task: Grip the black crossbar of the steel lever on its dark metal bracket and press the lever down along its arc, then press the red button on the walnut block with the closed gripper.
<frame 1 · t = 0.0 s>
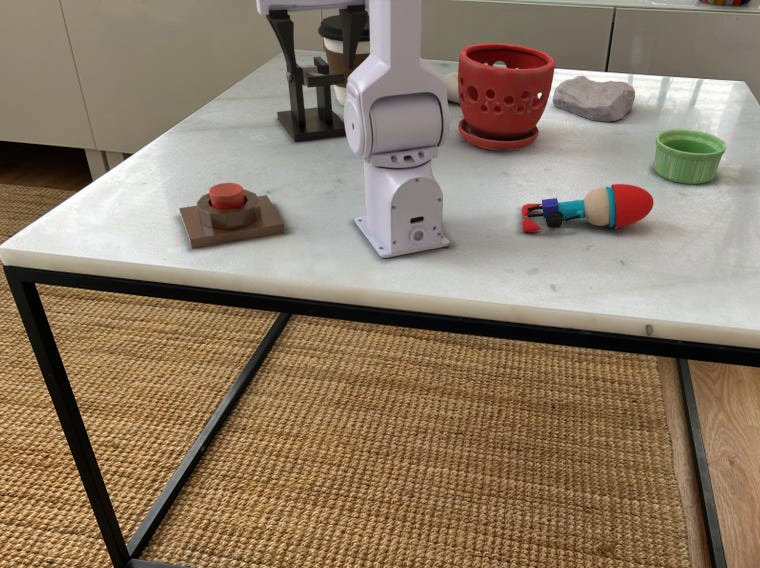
hand: (321, 69, 95), 10 cm above the table, tool pointing down, fingers open, 7 cm apart
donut: (468, 98, 119), on the table
lever: (315, 77, 98), point 8 cm above the table, hinge at 11.3°
coffee cup: (357, 102, 116), on the table
button block: (232, 225, 81), on the table
button: (227, 196, 79), point 3 cm above the table, slide at 0.1 cm
bracket: (312, 127, 106), on the table
toy figure: (584, 225, 84), on the table
ramekin: (683, 174, 97), on the table
flower pot: (500, 141, 105), on the table
stone block: (589, 111, 116), on the table
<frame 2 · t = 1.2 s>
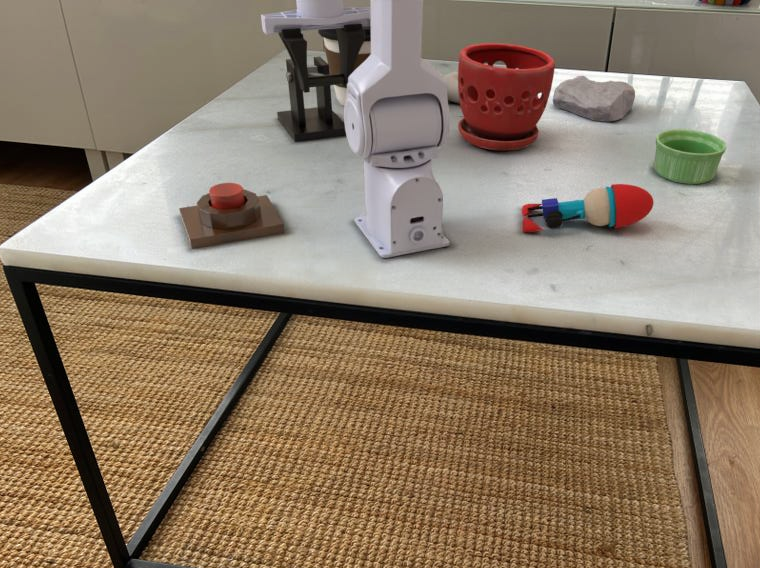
hand: (326, 88, 95), 8 cm above the table, tool pointing down, fingers closed on lever, 5 cm apart
lever: (315, 77, 98), point 8 cm above the table, hinge at 11.3°, touching gripper
everything else where it was.
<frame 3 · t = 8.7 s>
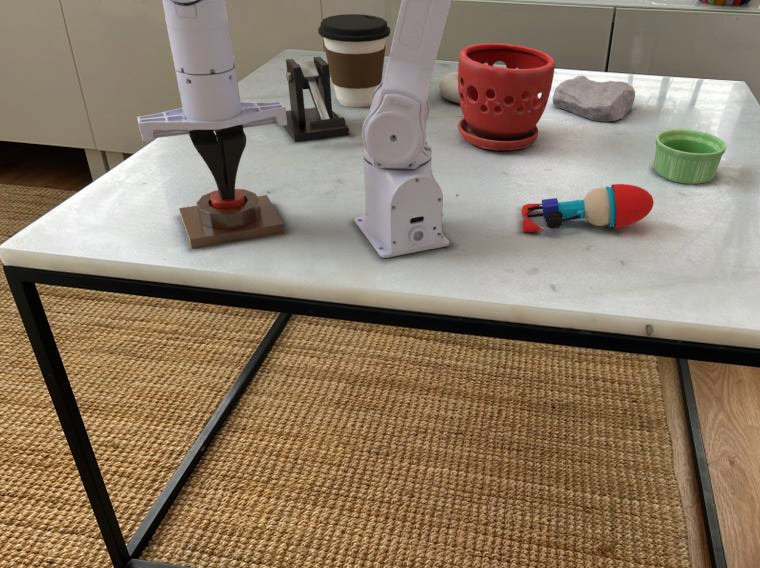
hand: (226, 195, 79), 4 cm above the table, tool pointing down, fingers closed, pressing on button
lever: (316, 97, 100), point 6 cm above the table, hinge at -28.9°
button: (228, 202, 79), point 3 cm above the table, slide at -0.6 cm, touching gripper
everything else where it was.
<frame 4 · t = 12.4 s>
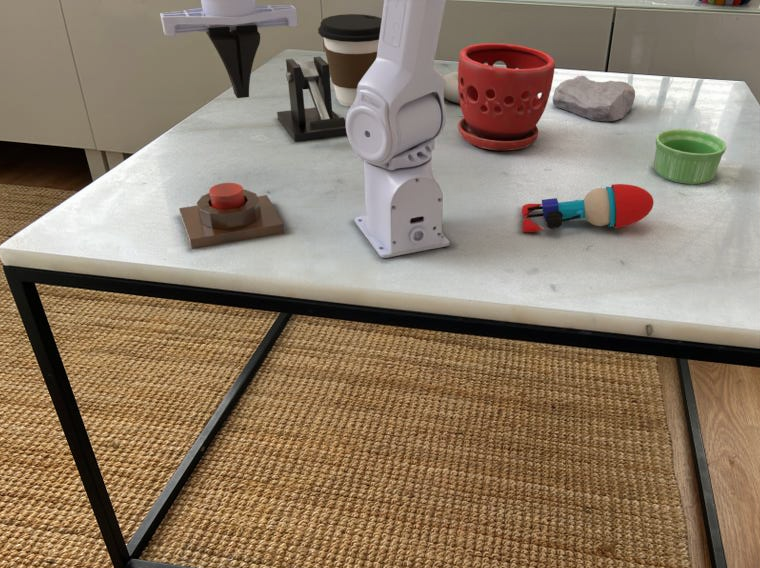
hand: (241, 95, 85), 10 cm above the table, tool pointing down, fingers closed
button: (227, 196, 79), point 3 cm above the table, slide at 0.1 cm
everything else where it was.
at the end: lever at -29° (first picture: +11°); button pushed in 1.2 cm at the most during the clip, back to where it started at the end; button slide at 0.1 cm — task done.
